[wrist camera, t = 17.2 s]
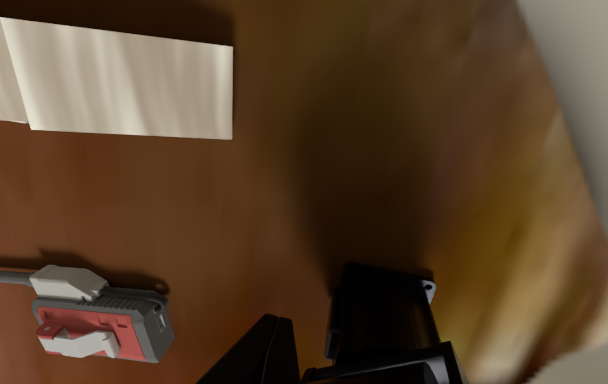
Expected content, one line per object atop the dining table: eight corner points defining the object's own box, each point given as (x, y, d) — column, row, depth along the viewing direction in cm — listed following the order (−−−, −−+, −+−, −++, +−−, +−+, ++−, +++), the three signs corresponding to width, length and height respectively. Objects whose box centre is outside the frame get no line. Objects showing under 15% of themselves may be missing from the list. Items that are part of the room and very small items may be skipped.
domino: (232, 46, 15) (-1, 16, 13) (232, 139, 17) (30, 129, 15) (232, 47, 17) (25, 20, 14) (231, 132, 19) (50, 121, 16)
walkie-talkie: (169, 268, 25) (-14, 256, 29) (133, 306, 21) (-74, 287, 25) (189, 341, 29) (24, 323, 32) (162, 386, 25) (-24, 359, 28)
